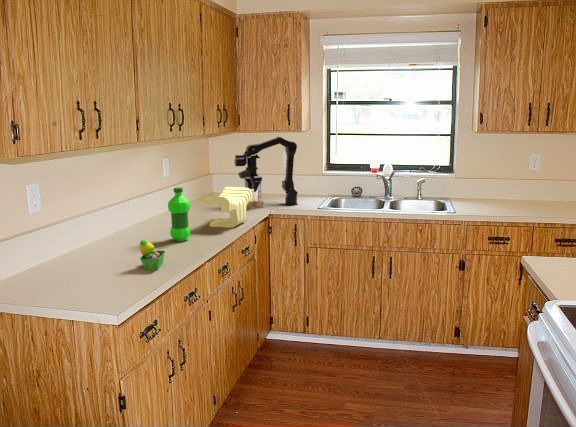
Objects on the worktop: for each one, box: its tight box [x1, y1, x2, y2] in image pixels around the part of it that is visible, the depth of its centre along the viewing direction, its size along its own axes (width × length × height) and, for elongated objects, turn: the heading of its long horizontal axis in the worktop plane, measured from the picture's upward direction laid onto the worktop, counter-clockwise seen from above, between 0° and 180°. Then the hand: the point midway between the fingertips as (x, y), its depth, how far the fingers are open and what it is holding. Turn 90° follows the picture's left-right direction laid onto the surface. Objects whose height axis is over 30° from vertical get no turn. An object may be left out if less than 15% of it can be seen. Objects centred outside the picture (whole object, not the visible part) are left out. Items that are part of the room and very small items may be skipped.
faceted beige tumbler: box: [250, 189, 258, 202], centre depth 329 cm, size 7×7×7 cm
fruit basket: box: [138, 239, 166, 271], centre depth 212 cm, size 11×9×11 cm
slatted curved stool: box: [200, 186, 252, 229], centre depth 283 cm, size 30×16×18 cm, turn 162°
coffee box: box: [244, 180, 262, 201], centre depth 348 cm, size 9×6×16 cm
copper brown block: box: [246, 199, 264, 210], centre depth 330 cm, size 10×10×4 cm
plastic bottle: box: [167, 187, 191, 242], centre depth 251 cm, size 10×10×25 cm
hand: (252, 190), depth 329 cm, fingers open, 9 cm apart
